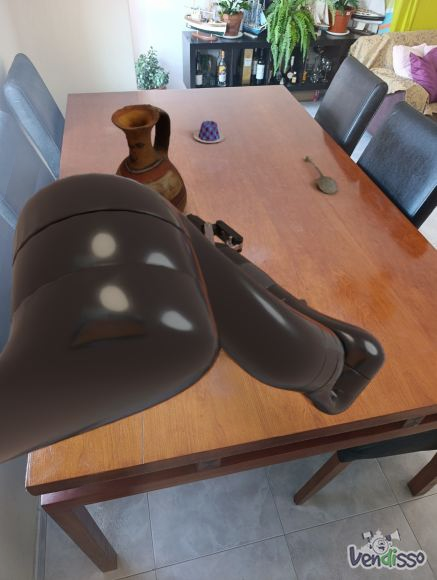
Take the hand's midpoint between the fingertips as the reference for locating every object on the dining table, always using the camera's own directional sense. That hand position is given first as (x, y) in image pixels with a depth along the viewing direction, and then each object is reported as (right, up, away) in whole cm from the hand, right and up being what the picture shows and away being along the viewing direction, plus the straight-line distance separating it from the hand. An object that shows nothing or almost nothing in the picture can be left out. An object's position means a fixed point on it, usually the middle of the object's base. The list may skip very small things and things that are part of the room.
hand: (166, 229), depth 58 cm
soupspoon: (+42, +29, +68) cm, 85 cm away
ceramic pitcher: (-11, +12, +49) cm, 52 cm away
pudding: (+5, +49, +84) cm, 97 cm away
